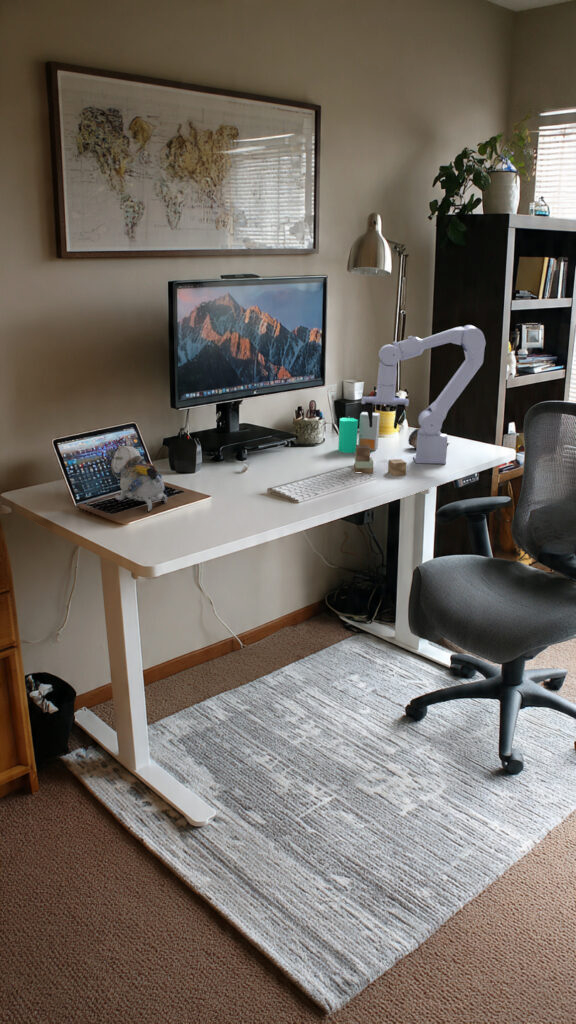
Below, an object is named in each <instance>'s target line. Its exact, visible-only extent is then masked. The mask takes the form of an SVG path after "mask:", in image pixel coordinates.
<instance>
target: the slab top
mask: <svg viewBox="0 0 576 1024" xmlns="http://www.w3.org/2000/svg"><path fill="white" fill-rule="evenodd" d="M354 463H355V465H356V468H373V469H374V460H373V458H372V457H371V456H370V461H356V456H355V457H354Z"/></svg>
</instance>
